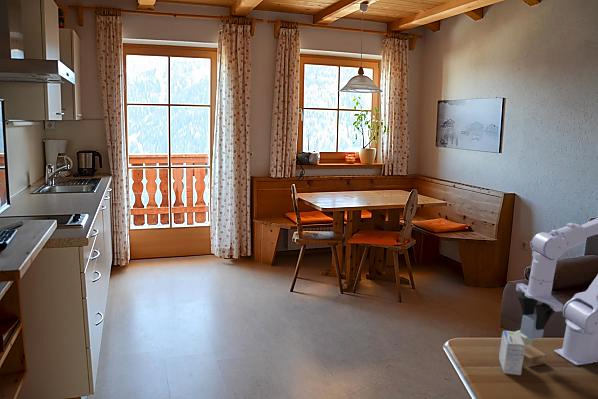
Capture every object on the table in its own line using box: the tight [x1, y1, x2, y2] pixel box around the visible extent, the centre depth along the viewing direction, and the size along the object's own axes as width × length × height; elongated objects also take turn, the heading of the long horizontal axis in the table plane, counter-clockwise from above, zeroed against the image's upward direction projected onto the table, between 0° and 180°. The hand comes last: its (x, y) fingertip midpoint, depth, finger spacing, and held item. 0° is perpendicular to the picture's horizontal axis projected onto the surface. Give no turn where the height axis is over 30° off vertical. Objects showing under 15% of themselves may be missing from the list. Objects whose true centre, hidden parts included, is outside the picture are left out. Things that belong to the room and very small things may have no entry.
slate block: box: [519, 313, 545, 340], centre depth 143 cm, size 4×4×5 cm
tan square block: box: [522, 344, 547, 368], centre depth 145 cm, size 6×6×3 cm
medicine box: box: [498, 330, 525, 376], centre depth 139 cm, size 8×4×9 cm, turn 168°
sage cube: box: [514, 329, 534, 346], centre depth 152 cm, size 4×4×4 cm
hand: (533, 325), depth 143 cm, fingers closed on slate block, 4 cm apart
